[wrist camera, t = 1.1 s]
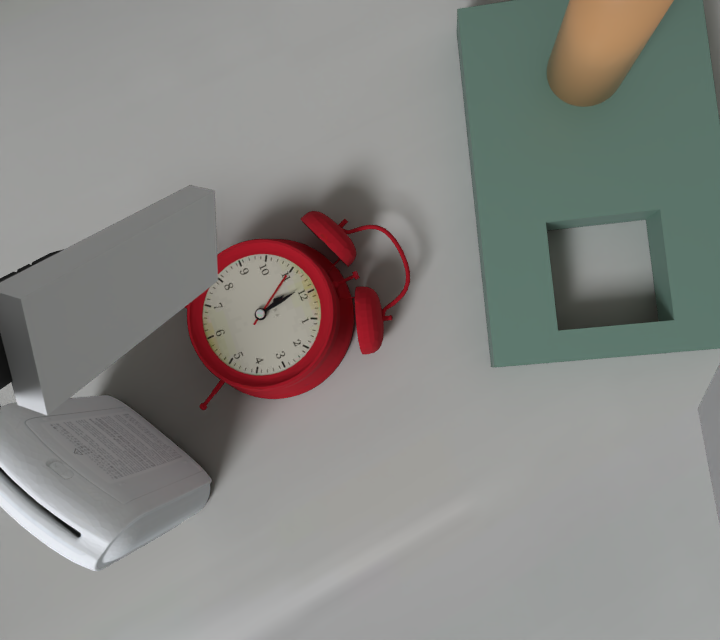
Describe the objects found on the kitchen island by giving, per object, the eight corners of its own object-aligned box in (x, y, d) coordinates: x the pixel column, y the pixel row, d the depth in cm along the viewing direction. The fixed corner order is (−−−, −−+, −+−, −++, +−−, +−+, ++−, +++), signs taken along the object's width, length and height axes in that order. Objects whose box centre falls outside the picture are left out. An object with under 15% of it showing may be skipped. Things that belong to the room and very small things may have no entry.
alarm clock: (137, 283, 38) (338, 159, 34) (195, 285, 44) (373, 180, 40) (201, 437, 37) (420, 331, 32) (252, 419, 43) (443, 326, 38)
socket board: (456, 30, 40) (457, 9, 38) (682, -4, 38) (698, -30, 36) (491, 367, 38) (494, 367, 36) (729, 347, 37) (750, 345, 34)
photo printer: (72, 435, 42) (-81, 465, 30) (109, 384, 42) (-29, 393, 30) (187, 531, 40) (75, 604, 28) (225, 479, 40) (130, 529, 28)
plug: (542, 40, 37) (589, -113, 25) (618, 29, 36) (703, -133, 25) (550, 111, 37) (602, -10, 25) (627, 101, 36) (718, -29, 24)
